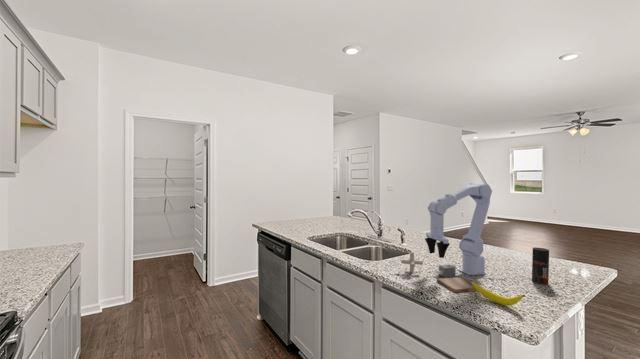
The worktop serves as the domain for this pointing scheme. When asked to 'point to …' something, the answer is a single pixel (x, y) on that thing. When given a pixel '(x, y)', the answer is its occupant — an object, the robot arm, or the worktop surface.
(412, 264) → the pipe connector
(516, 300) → the banana
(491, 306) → the worktop surface
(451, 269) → the plug
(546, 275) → the deodorant
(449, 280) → the board
